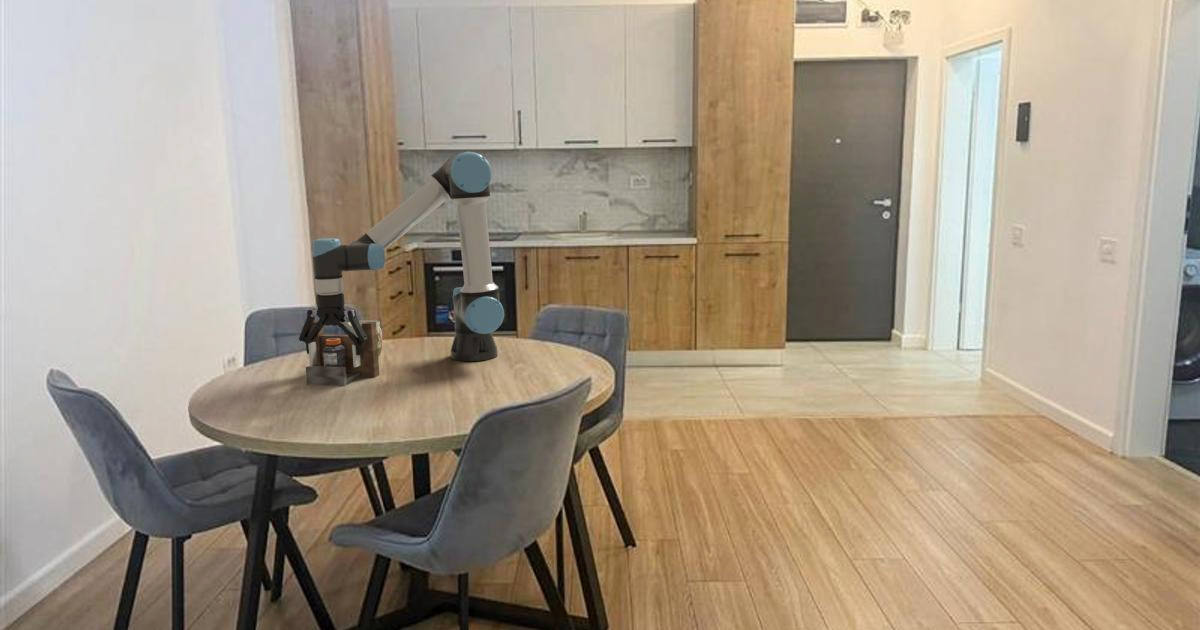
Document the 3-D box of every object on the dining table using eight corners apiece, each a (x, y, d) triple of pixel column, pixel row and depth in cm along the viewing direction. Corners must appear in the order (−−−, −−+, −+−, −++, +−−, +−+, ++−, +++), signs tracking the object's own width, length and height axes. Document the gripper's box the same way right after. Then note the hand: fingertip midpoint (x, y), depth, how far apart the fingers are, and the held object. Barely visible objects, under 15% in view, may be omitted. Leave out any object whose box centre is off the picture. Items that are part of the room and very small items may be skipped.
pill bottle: (341, 373, 230) (338, 336, 228) (350, 376, 226) (347, 338, 224) (321, 377, 226) (318, 339, 224) (330, 380, 222) (327, 341, 220)
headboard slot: (379, 374, 231) (375, 321, 229) (358, 386, 219) (354, 330, 216) (317, 372, 235) (313, 320, 232) (293, 383, 222) (288, 328, 220)
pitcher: (397, 357, 254) (394, 316, 252) (366, 370, 237) (363, 326, 235) (367, 356, 257) (364, 315, 255) (335, 368, 240) (332, 325, 238)
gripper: (376, 291, 223) (381, 363, 227) (297, 290, 228) (303, 361, 232) (364, 295, 216) (369, 369, 220) (282, 294, 221) (288, 367, 224)
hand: (335, 365), depth 226 cm, fingers open, 13 cm apart
